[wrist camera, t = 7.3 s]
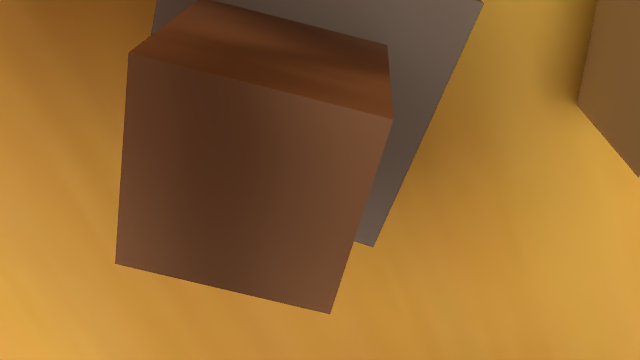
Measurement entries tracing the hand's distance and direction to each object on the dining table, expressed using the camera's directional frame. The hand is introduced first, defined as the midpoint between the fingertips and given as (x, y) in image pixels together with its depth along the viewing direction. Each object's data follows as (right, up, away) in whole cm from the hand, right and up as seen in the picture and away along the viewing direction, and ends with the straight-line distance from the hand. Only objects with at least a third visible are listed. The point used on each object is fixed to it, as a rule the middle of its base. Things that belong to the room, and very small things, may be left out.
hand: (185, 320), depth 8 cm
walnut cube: (+1, +4, +8) cm, 9 cm away
